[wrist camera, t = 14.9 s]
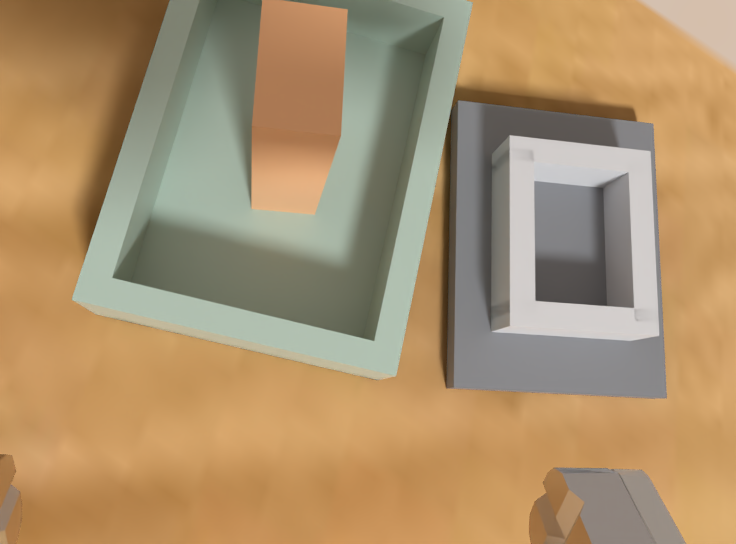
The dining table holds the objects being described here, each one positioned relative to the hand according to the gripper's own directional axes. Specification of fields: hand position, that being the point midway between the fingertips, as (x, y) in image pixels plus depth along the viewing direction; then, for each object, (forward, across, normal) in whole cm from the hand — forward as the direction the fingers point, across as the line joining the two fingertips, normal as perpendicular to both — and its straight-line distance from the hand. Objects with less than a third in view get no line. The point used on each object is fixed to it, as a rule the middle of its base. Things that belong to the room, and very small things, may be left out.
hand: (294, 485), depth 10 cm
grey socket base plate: (+17, -12, +5) cm, 21 cm away
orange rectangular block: (+18, 0, +3) cm, 18 cm away
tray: (+18, 0, +3) cm, 19 cm away
